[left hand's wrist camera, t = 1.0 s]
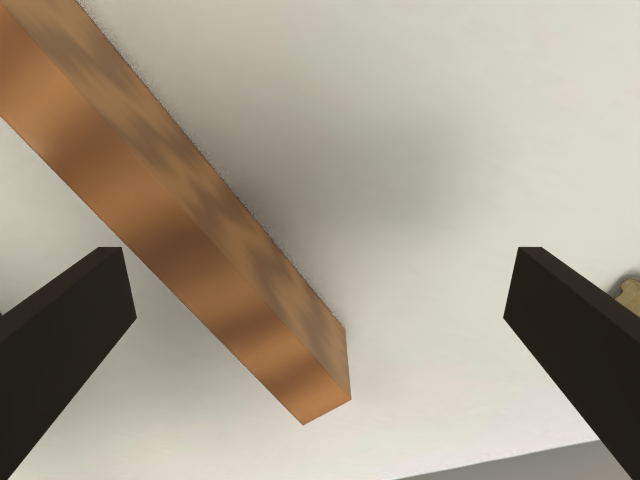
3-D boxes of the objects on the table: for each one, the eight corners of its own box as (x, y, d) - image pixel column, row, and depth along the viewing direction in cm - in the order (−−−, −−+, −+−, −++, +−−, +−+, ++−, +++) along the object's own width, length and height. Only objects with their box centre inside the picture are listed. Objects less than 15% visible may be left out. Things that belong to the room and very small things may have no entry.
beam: (345, 329, 35) (351, 399, 27) (307, 351, 36) (302, 425, 28) (-295, -453, 18) (-770, -869, 10) (-334, -372, 19) (-795, -695, 11)
